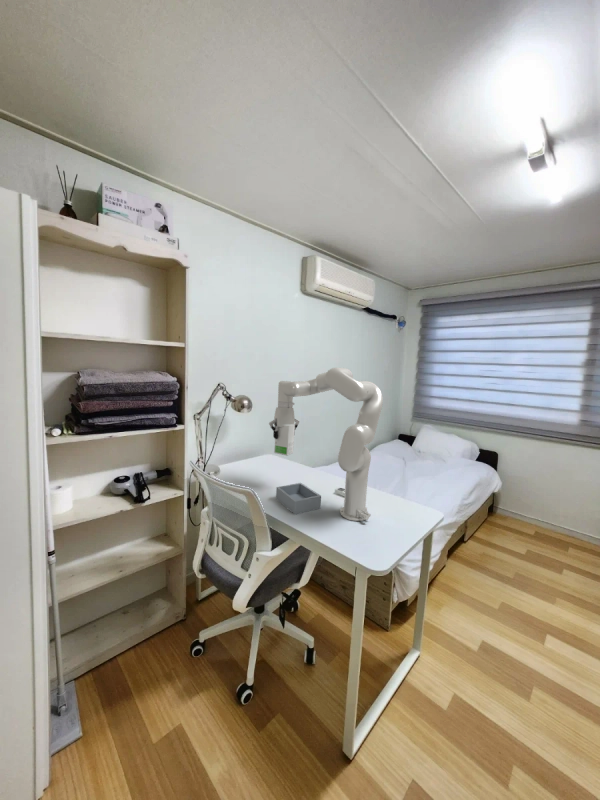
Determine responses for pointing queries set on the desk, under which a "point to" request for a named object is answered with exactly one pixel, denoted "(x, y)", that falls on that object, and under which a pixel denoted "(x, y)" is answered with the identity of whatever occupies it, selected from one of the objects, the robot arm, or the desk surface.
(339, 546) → the desk surface
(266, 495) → the desk surface
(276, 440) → the skincare box
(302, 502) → the tote
